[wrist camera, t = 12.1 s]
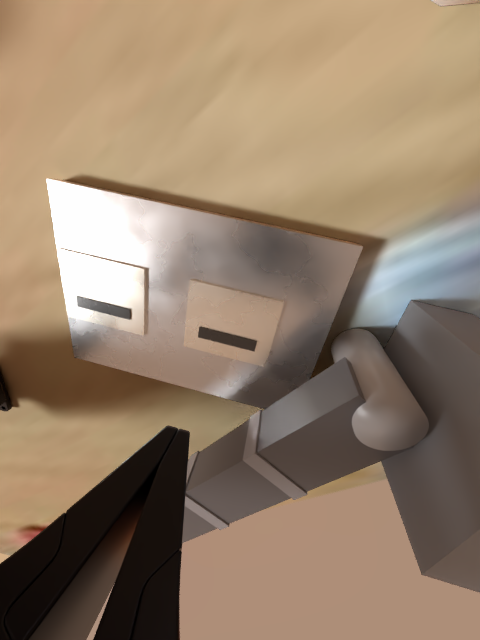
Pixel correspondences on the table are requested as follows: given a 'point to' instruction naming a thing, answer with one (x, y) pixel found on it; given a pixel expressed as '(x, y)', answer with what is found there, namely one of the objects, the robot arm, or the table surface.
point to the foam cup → (454, 2)
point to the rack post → (440, 441)
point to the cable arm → (306, 438)
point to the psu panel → (196, 292)
